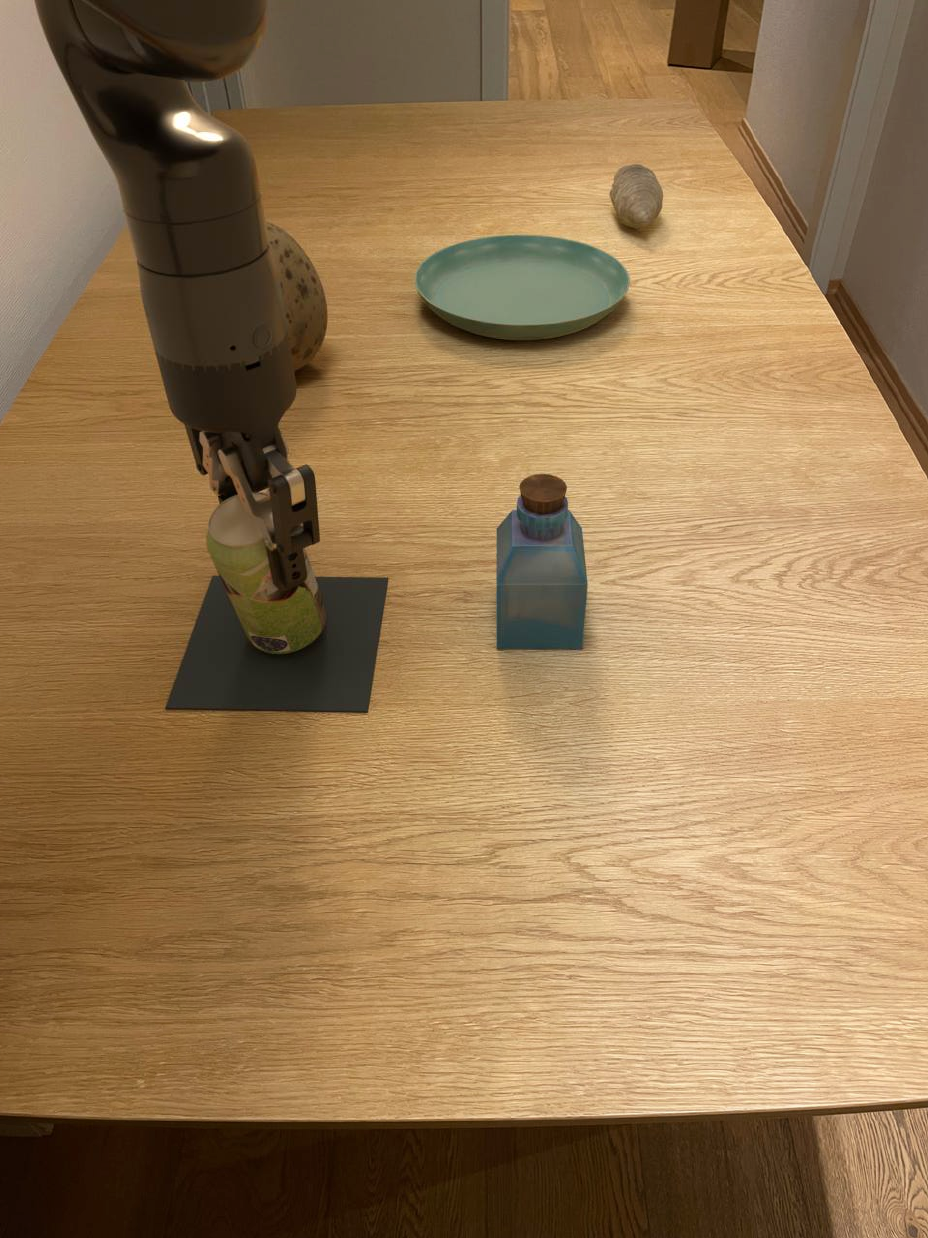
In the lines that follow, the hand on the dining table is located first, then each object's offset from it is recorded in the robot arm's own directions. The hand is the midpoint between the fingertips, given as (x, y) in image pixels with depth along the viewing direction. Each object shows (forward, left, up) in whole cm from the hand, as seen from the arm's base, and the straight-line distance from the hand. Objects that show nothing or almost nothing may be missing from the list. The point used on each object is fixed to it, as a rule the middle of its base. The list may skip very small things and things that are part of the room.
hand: (267, 558), depth 66 cm
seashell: (+76, +41, -8) cm, 87 cm away
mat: (0, 0, -8) cm, 8 cm away
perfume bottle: (+16, -10, -8) cm, 21 cm away
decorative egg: (+20, +36, -8) cm, 42 cm away
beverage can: (0, 0, -8) cm, 8 cm away
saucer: (+49, +32, -8) cm, 59 cm away
